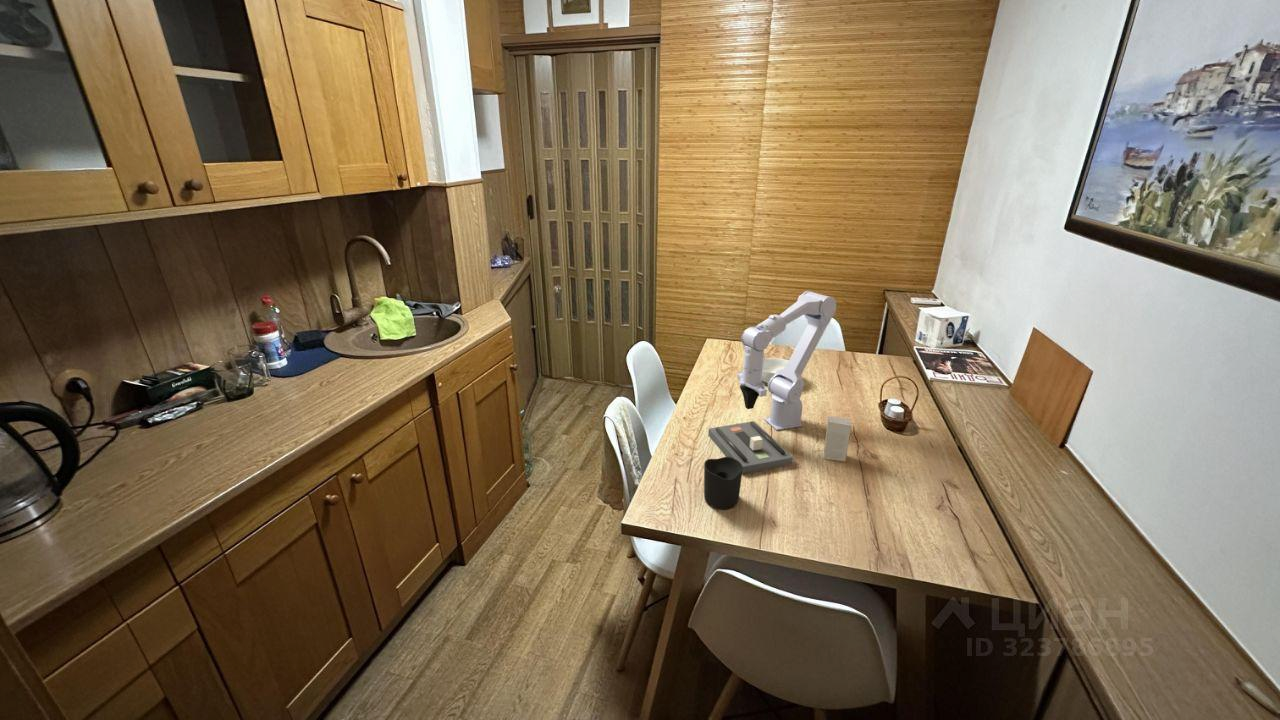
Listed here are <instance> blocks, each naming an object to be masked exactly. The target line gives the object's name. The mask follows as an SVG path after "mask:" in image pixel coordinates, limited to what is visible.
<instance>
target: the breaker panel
mask: <svg viewBox="0 0 1280 720" xmlns="http://www.w3.org/2000/svg"><path fill="white" fill-rule="evenodd" d="M756 436H760V437H761V438H762V439H763V441H762V449H759V450H752V449H751V448H750V437H756ZM708 437H709V438H710V439H711V441H712V442H713V443H714V444H715V446H716V447H717V448H718V449H719V450H720V451H721V453H723V454H724V457H731V458H734V459H736V460H738V461H739V462H740V463H741V464H742V467H743V470H742V475H746V474H751V473H756V472H757V473H758V472H763V471H768V470H772V469H777V468H782V467H788V466H792V465H793V461H794V456H792V454H790V452H788V451H787V450H786V449H785V448H784V447H783V446H782V445H781V444H779V442H777V440H775V439H774V438H773V437H772V436H771V435H770V434H769V433H768V432H767V431H765V430H764V429H763V428H762V426H760V425H759V423H757V422H756V421H755V420H753V421H747V422H740V423H735V424H729V425H723V426H717V427H710V428H708Z"/></svg>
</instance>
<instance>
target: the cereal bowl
mask: <svg viewBox="0 0 1280 720" xmlns="http://www.w3.org/2000/svg"><path fill="white" fill-rule="evenodd" d="M789 360H790V359H785V358H779V357H778V358H776V357H767V358H765V357H764V359H763V369H762V382H763V383H765V384H767V385H768V383H769V381H770V379H771V378H772V377H773V376H774V375H775V374H776V372H777V371H778V370H780V369H783V368H785V367H786V365H787V364H788V362H789ZM786 379H787V380H789V381H791V382H793V381H792V380H790V379H788V378H786Z"/></svg>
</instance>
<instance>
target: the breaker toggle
mask: <svg viewBox="0 0 1280 720" xmlns="http://www.w3.org/2000/svg"><path fill="white" fill-rule="evenodd" d="M762 441H763V439H762V438H761V437H760V436H756V437H750V448H751V449H752V450H759V449H762Z"/></svg>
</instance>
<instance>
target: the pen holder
mask: <svg viewBox="0 0 1280 720" xmlns="http://www.w3.org/2000/svg"><path fill="white" fill-rule="evenodd" d="M742 470H743V467H742V464H741V463H740V462H739V461H738V460H736V459H734V458H731V457H726V456H724V457H720V458H708V459H706V460H705V462H704V468H703V471H704V472H703V473H704V474H703V489H704V491H703V493H704V494H703V496H704V497H703V498H704V501H705V502H706V503H707V504H708V505H709V506H710V507H712V508H714V509H717V510H729V509H732V508H734V507H736V506H737V505H738V503H739V498H740V491H741V483H742V479H743V478H742V476H743V474H742Z"/></svg>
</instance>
